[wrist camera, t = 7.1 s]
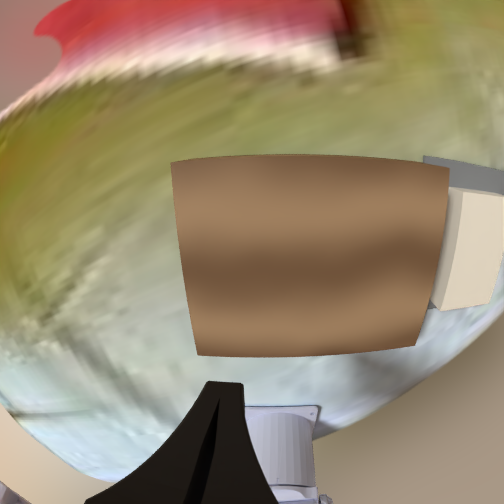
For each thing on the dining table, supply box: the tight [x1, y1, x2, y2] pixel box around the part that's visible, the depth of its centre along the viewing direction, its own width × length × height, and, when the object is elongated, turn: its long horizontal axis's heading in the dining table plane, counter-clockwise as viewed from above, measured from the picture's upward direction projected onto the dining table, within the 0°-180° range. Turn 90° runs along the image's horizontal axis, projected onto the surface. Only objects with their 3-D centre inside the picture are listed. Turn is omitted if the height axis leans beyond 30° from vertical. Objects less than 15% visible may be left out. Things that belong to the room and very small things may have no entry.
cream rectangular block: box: [430, 187, 504, 311], centre depth 16 cm, size 9×6×2 cm, turn 2°
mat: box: [423, 156, 504, 309], centre depth 17 cm, size 12×10×1 cm
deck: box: [171, 154, 450, 357], centre depth 16 cm, size 12×15×4 cm
